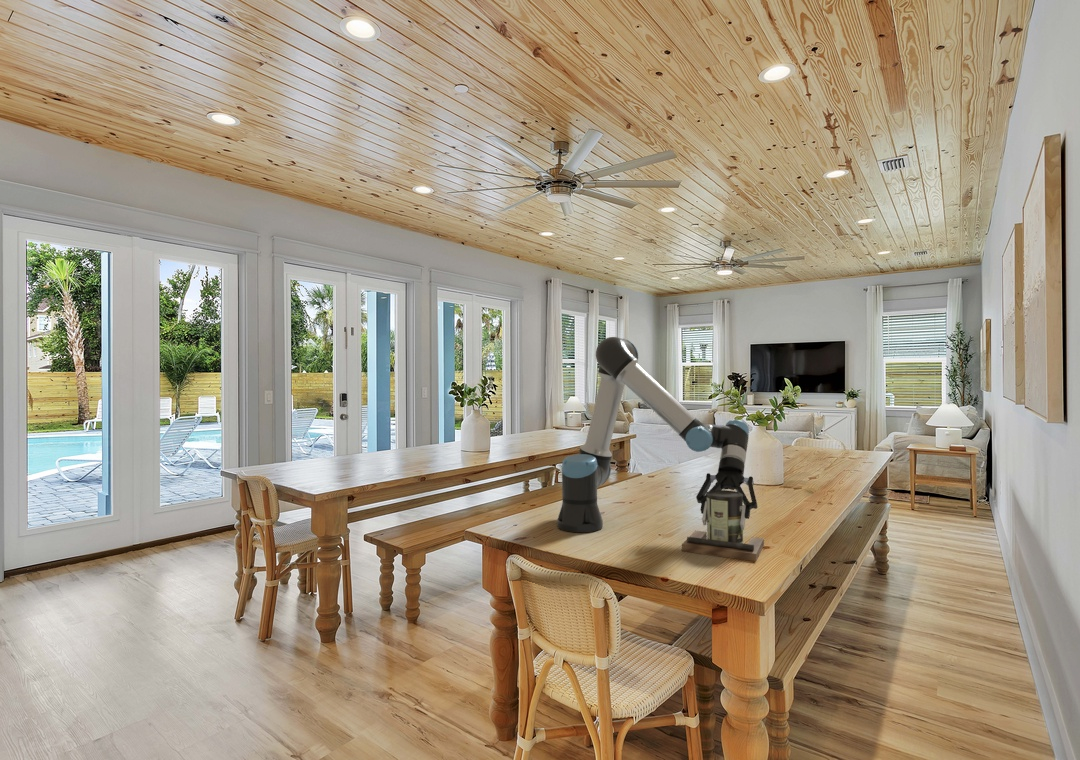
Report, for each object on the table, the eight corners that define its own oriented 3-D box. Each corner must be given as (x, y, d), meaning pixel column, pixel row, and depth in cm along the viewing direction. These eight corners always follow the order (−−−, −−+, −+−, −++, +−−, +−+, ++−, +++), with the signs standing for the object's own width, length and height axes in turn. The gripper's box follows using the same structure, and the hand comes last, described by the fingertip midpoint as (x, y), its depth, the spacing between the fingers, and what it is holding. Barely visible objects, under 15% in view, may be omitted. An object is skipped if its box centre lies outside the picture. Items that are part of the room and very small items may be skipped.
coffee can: (740, 537, 170) (740, 490, 170) (745, 547, 160) (745, 497, 160) (705, 535, 172) (704, 489, 172) (708, 545, 162) (707, 496, 162)
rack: (682, 551, 162) (681, 538, 162) (695, 536, 176) (695, 525, 176) (756, 561, 152) (756, 547, 152) (763, 545, 166) (763, 533, 166)
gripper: (771, 472, 174) (765, 536, 160) (697, 467, 185) (686, 527, 171) (769, 457, 169) (763, 522, 156) (693, 453, 180) (681, 513, 166)
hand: (722, 524), depth 163 cm, fingers closed on coffee can, 10 cm apart
